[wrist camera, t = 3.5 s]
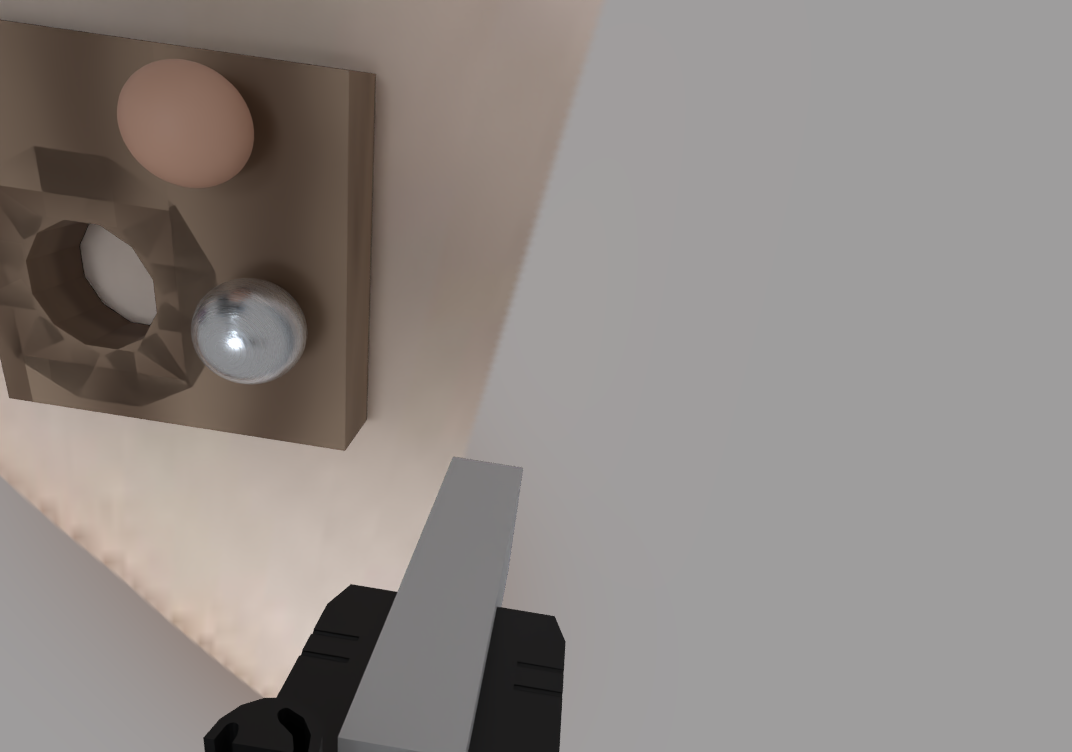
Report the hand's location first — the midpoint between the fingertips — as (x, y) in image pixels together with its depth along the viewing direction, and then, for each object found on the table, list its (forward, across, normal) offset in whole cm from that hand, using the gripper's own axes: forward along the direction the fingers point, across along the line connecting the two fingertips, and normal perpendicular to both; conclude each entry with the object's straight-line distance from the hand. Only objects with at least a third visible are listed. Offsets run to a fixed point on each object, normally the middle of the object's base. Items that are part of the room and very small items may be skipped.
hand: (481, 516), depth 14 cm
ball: (+7, -9, 0) cm, 11 cm away
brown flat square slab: (+11, -13, +2) cm, 17 cm away
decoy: (+7, -10, +6) cm, 14 cm away
